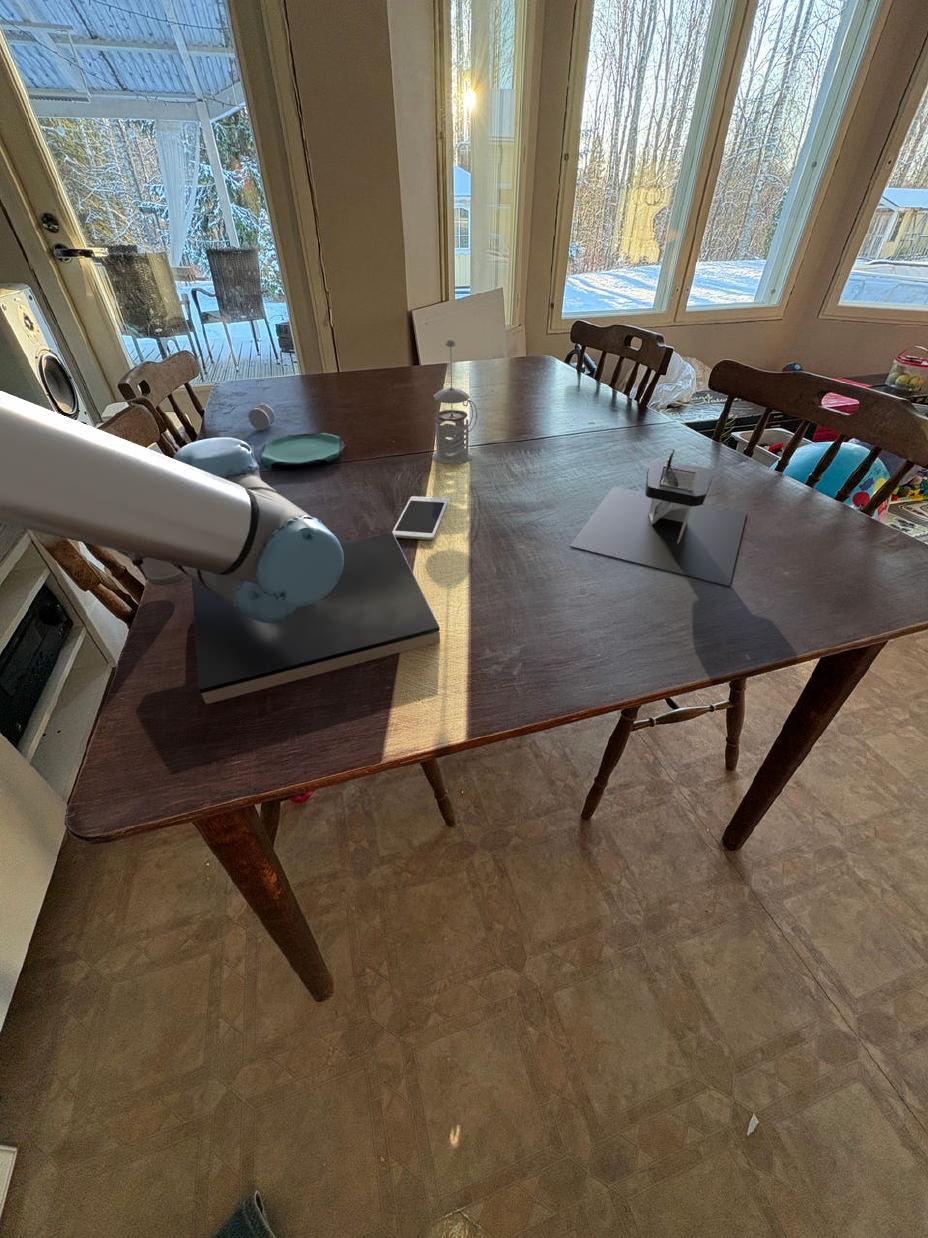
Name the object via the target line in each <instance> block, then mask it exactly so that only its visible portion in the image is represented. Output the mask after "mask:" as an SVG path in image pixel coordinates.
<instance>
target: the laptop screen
mask: <svg viewBox="0 0 928 1238" xmlns="http://www.w3.org/2000/svg"><path fill="white" fill-rule="evenodd" d="M339 543H340V545H341V547H342V550H343V555H344V565H343V570H342V573H341V575H340V578H339V580H338V581H337V584H336V585H335V587H334V588H333V589H332V590H331V592H330V593H328V594H327V595H326V596H325V597H324V598H322V599H321V600H319V601H317V602H315V603H313V604H310V605H306V606H301V607H297V609H296V610H295V611H294V612H293V613H292V614H291V615H289V616H288V617H286V618H285V619H282V620H281V621H278V622H274V623H264V622H260V621H257V620H255V619H253V618H252V617H250V616H248V615H246V614H242V613H241V612H239V611H238V610H237V609H236V608H235V607H234V606H232V605H231V604H230V603H228V602H227V601H225V600H224V599H223V598H221V597H220V596H219V595H217V594H216V593H214V592H213V591H211V590H210V589H208V588H206V587H205V586H203V585H202V584H200V583H199V582H198V581H196V580H195V579H193V578H192V577H191V586H192V604H193V618H194V633H195V646H196V647H195V648H196V651H195V652H196V665H197V681H198V690H199V693H200V694H201V693H204V692H208V691H212V690H216V689H220V688H224V687H227V686H231V685H235V684H239V683H243V682H246V681H250V680H254V679H258V678H262V677H266V676H269V675H273V674H277V673H281V672H285V671H289V670H292V669H296V668H300V667H304V666H308V665H312V664H315V663H319V662H323V661H327V660H331V659H335V658H338V657H342V656H346V655H350V654H354V653H358V652H361V651H365V650H369V649H373V648H377V647H381V646H384V645H388V644H392V643H396V642H400V641H403V640H407V639H411V638H415V637H419V636H423V635H426V634H430V633H434V632H438V631H439V632H440V630H441V629H440V625H439V623H438V621H437V619H436V617H435V615H434V613H433V611H432V608H431V607H430V605H429V603H428V600H427V599H426V596H425V595H424V593H423V590H422V589H421V586H420V584H419V583H418V581H417V578H416V577H415V574H414V573H413V570H412V569H411V567H410V565H409V562H408V560H407V558H406V556H405V554H404V552H403V550H402V548H401V546H400V544H399V542H398V540H397V538H396V537H395V536H394V534H393V532H388V533H382V534H376V535H372V536H367V537H362V538H355V539H351V540H347V541H340V542H339Z"/></svg>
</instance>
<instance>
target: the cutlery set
mask: <svg viewBox="0 0 928 1238" xmlns="http://www.w3.org/2000/svg"><path fill="white" fill-rule="evenodd" d="M250 447H251V449H252V452H253V453H254V452H255V445H253V444H251V446H250ZM344 449H345V443H344V441H343V440H342V439H340V436H337V435H336V434H335V435H334V434H331V433H326V432H318V433H300V434H287V435H286V434H285V435H283V436H282V435H281V436H278V437H276V438H274V439H271V440H268V441H266V442H265V444H264V445H263V446H262V447H261V448H260V449H259V457H260V460H261V462H262V463H263V464H264V466H266V467H267V468H269V469H272V465H273V464H275V465H280V466H281V465H282V466H305V465H313V464H317V463H321V462H325V461H327V462H328V463H329V462H331V461H333V460H336V459H337V458H338V457H339V455H340V453H342V452H343V451H344Z"/></svg>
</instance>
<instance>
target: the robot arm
mask: <svg viewBox="0 0 928 1238" xmlns="http://www.w3.org/2000/svg"><path fill="white" fill-rule="evenodd" d="M0 524H3V525H8V526H12V527H15V528H19V529H21V528H22V529H24V530H28V531H33V532H38V533H41V534H46V535H50V536H54V537H59V538H63V539H67V540H71V541H76V542H80V543H84V544H88V545H92V546H97V547H100V548H101V547H102V548H105V549H109V550H114V551H115V552H117V553H119V554H121V555H123V556H125V557H126V558H128V559H130V561H131V563H132V565H133V566H134V567H139V566H141V565H142V564H143V563H144V561H143V559H145V558H146V557H147V558H152V559H156V560H160V561H164V562H169V563H171V564H172V565H174V566H175V567H176V568H178V569H179V570H181V571H182V572H184V573H185V574H187V576H189V577H190V578H191V579H192V578H193V579H195V580H196V581H198V582H199V583H200V584H202V585H203V586H205V587H206V588H208V589H210V590H211V591H213V592H214V593H216V594H217V595H219V596H220V597H221V598H223V599H224V600H225V601H227V602H228V603H230V604H231V605H232V606H234V607H235V608H236V609H237V610H238V611H239V612H241V613H242V614H246V615H248V616H250V617H252V618H253V619H255V620H257V621H260V622H264V623H274V622H278V621H281V620H282V619H285V618H286V617H288V616H289V615H291V614H292V613H293V612H294V611H295V610H296V609H297V607H301V606H306V605H310V604H313V603H315V602H317V601H319V600H321V599H322V598H324V597H325V596H326V595H327V594H328V593H330V592H331V590H332V589H333V588H334V587H335V585H336V584H337V581H338V580H339V578H340V575H341V573H342V570H343V565H344V555H343V550H342V547H341V545H340V543H341V542H340V541H339V539H338V538H337V537H336V536H335V534H334V533H332V532H331V530H330V529H328V527H326V526H325V524H323V523H322V521H321V520H320V519H318V518H317V517H313V516H311V515H310V514H308V513H307V512H306V511H304V510H303V509H301V508H300V507H299V506H297V505H295V504H294V503H293V502H291V501H290V500H289V499H287V498H286V497H285V496H284V495H282V494H281V493H280V492H278V491H277V490H275V489H274V488H273V487H271V485H269V484H268V483H266V482H264V481H263V480H262V478H261V475H260V465H259V464H258V463H257V460H256V457H255V455H254V451H253V452H252V449H251V446H250V445H249V444H248V443H247V442H246V441H244V440H241V439H237V438H235V437H234V438H233V437H212V438H206V439H205V438H204V439H201V440H196V441H193V442H191V443H188V444H185V445H183V446H182V447H180V448H179V449H178V450H177V451H176V452H175V453H174V455H173V457H172V458H171V457H169V456H167V455H165V454H161V453H159V452H158V451H157V452H156V451H154V450H152V449H149V448H146V447H144V446H142V445H139V444H136V443H133V442H132V441H128V440H126V439H123V438H122V437H121V438H120V437H119V436H116V435H114V434H110V433H108V432H106V431H104V430H101V429H98V428H95V427H94V426H91V425H87V424H85V423H83V422H80V421H78V420H75V419H72V418H70V417H68V416H64V415H62V414H61V413H57V412H55V411H52V410H50V409H47V408H45V407H42V406H40V405H37V404H34V403H33V402H30V401H27V400H24V399H23V398H19V397H18V396H15V395H11V394H9V393H7V392H4V391H1V390H0Z"/></svg>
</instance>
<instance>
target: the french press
mask: <svg viewBox="0 0 928 1238" xmlns="http://www.w3.org/2000/svg"><path fill="white" fill-rule="evenodd" d="M445 346H446V347H449V349H450V350H449V351H450V352H449V353H450V355H449V356H450V358H449V359H450V361H452V348H453V347H456V341H454V340H453V339H448V340H447V341H446V343H445ZM452 364H453V363H450V387H448V388H447V387H446V388H442V389H441V390H439V391H438V392H436V393H435V394H433V400H435V401H436V402H439V403H443V404H451V405H450V406H451V408H450V409H444V410H440V411H438V413H436V414H435V416H436V419H435V445H436V447H435V448H436V451H435V452H434V453H433V454H432V459H433V460H434V461H435V462H438V463H442V464H447V465H451V464H453V465H454V464H455V465H456V464H457V465H458V464H463V463H467V462H468V461H471V460H472V459H473V457H474V456H473V453H472V452H471V451H470V449H469V441H470V440H469V436H470V435H469V433H470V432H471V431H473V429H474V428H475V426H476V424H477V421H478V408H477V405H476V404H475V403H474V401H472V400H470V394H469V393H467V392H465V390H462V389H461V388H460V389H459V388H455V387H453V375H452V370H453V369H452V367H453V366H452ZM465 402H466V404H465ZM460 403H462V405H463V406H464V407H468V405H469V404H470V408H471V417H470V422H469V419H467V417H468V413H467V412H466V411H464V410H457V409H453V404H460ZM473 407H474V408H473ZM474 410H475V419H474V424H473V426H472V427H471V428H470V429H469V427H470V426H471V424H472V421H473V418H474ZM445 422H451V423H445ZM442 423H444V424H442ZM452 423H453V424H452ZM449 438H450V439H449Z"/></svg>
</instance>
